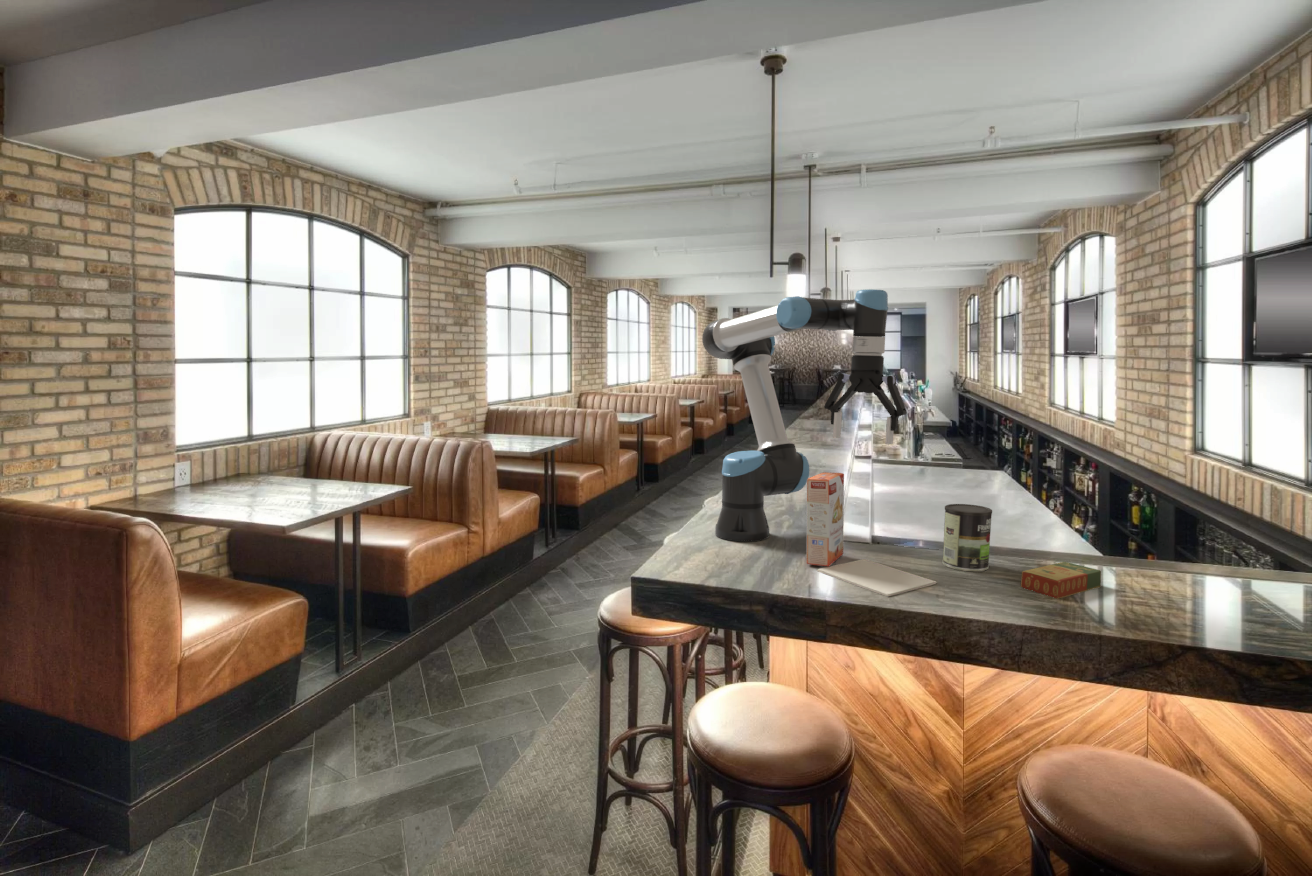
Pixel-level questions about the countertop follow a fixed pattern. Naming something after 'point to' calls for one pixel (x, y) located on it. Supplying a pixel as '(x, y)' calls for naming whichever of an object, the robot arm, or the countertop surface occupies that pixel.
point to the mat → (876, 577)
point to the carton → (1061, 579)
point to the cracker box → (825, 518)
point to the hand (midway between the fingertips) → (862, 440)
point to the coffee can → (967, 537)
